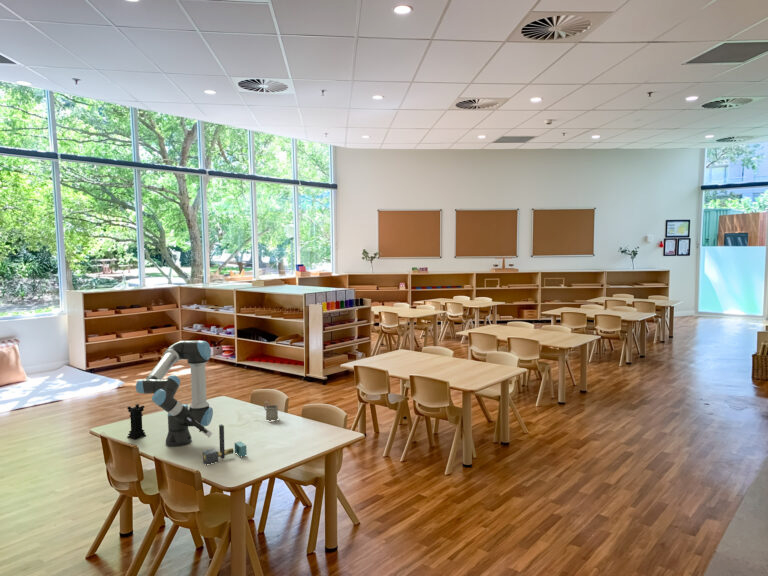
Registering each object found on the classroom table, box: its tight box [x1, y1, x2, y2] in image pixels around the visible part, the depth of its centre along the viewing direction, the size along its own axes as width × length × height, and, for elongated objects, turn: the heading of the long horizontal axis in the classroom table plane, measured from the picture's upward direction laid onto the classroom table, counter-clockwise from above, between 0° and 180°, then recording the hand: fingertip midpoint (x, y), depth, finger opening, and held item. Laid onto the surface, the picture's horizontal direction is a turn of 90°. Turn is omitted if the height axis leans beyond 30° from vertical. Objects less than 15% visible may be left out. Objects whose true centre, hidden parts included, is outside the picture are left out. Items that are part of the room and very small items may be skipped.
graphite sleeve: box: [202, 448, 219, 466], centre depth 287 cm, size 5×7×6 cm
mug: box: [263, 401, 279, 421], centre depth 362 cm, size 14×10×12 cm
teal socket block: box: [233, 440, 248, 458], centre depth 298 cm, size 9×4×6 cm, turn 39°
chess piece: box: [126, 403, 147, 441], centre depth 328 cm, size 8×8×20 cm
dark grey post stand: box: [202, 424, 235, 461], centre depth 289 cm, size 3×16×19 cm, turn 129°
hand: (206, 431), depth 284 cm, fingers open, 13 cm apart
